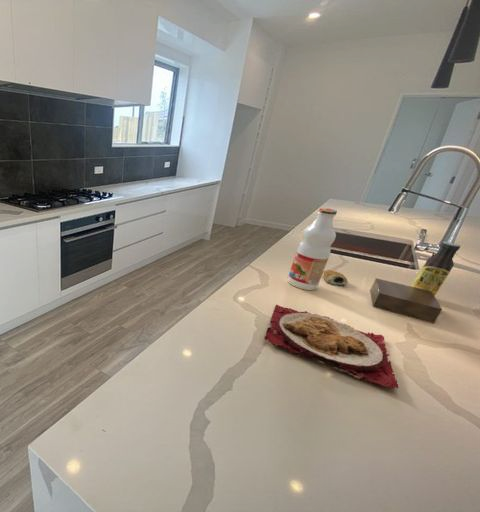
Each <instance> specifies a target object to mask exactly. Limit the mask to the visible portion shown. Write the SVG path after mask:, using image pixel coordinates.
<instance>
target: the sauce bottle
mask: <svg viewBox="0 0 480 512" xmlns="http://www.w3.org/2000/svg"><path fill="white" fill-rule="evenodd" d="M460 248H461V245H460V244H457V243H454V242H449V241H442V242H441V244H440V247H439V249H438V251H437V252H436V254H434V255H432V256H430V257H429V258H427V260H426V261H425V263H424V265H423V266H422V267H421V269H420V271H419V272H418V273H417V275H416V278H415V279H414V280H413V282H412V284H411V285H410V286H411V287H415V288H419V289H423V290H428V291H432V293H433V295H434V296H436V295H437V294H438V292H439V290H440V289H441V288H442V286H443V284H444V282H445V281H446V279H447V278H448V276H449V275H450V273H451V271H452V269H453V267H454V265H455V263H454V257H455V255H456V254H457V252H458V251H459V250H460Z"/></svg>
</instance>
